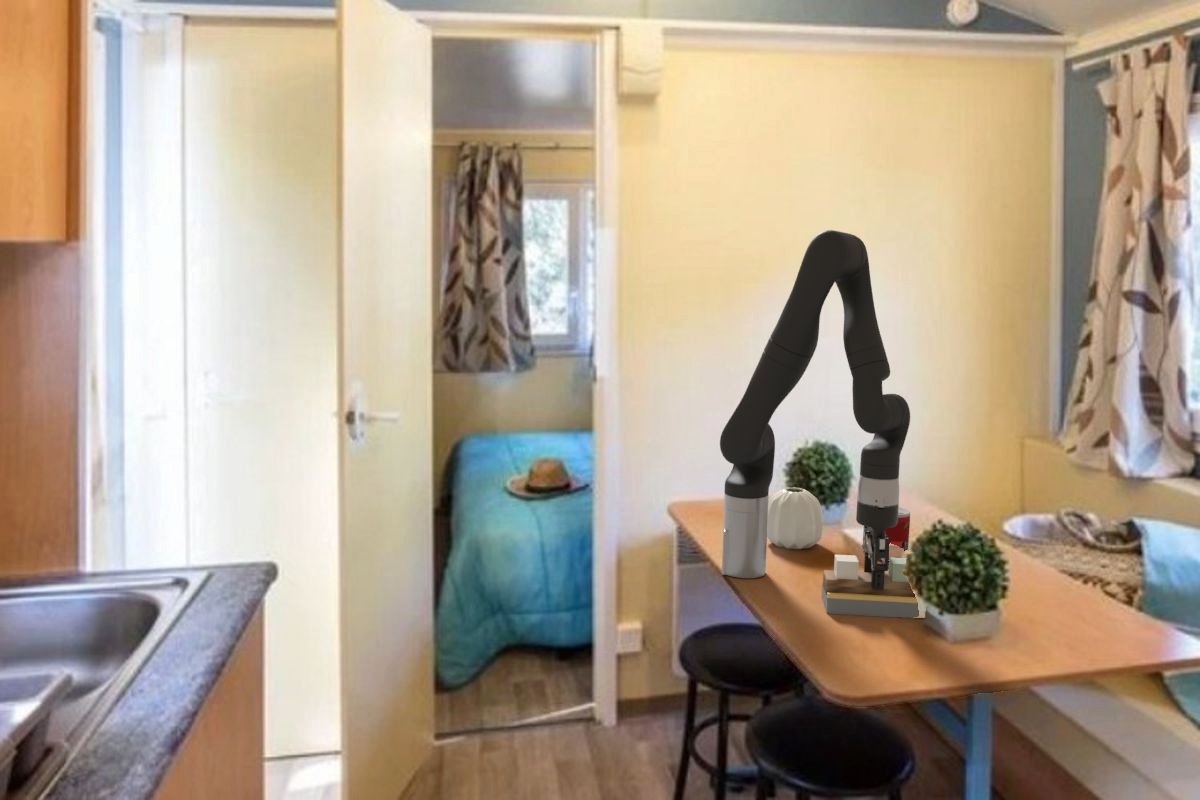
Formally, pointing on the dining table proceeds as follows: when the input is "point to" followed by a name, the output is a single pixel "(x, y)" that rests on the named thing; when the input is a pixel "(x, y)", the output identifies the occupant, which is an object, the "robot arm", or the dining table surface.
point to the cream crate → (846, 567)
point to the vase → (794, 519)
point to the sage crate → (897, 569)
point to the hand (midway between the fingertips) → (873, 581)
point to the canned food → (900, 530)
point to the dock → (870, 605)
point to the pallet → (864, 585)
